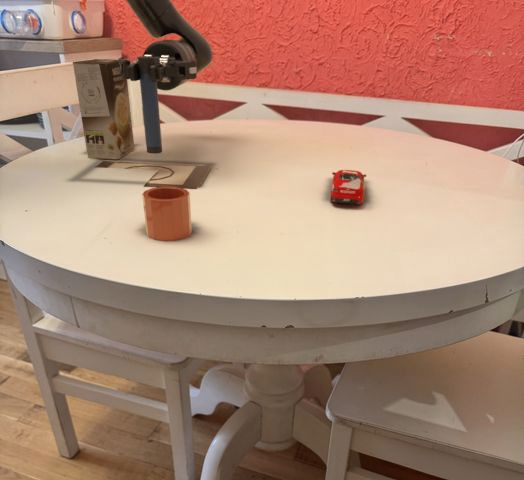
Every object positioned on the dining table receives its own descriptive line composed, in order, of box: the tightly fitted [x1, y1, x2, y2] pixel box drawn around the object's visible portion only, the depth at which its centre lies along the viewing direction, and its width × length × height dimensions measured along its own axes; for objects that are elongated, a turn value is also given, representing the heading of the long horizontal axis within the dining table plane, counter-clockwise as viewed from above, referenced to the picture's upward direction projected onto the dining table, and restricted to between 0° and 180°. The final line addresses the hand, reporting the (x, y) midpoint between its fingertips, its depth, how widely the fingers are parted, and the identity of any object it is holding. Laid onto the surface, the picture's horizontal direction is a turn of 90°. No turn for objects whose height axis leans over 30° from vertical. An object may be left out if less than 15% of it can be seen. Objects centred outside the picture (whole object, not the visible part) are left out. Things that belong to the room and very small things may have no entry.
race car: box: [329, 169, 367, 205], centre depth 79 cm, size 13×5×4 cm, turn 169°
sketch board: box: [95, 160, 212, 190], centre depth 86 cm, size 20×14×1 cm
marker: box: [136, 55, 163, 155], centre depth 81 cm, size 3×3×14 cm
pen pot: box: [141, 187, 193, 242], centre depth 63 cm, size 6×6×6 cm
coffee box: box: [72, 58, 135, 161], centre depth 94 cm, size 9×6×16 cm
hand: (142, 73), depth 76 cm, fingers closed on marker, 2 cm apart
